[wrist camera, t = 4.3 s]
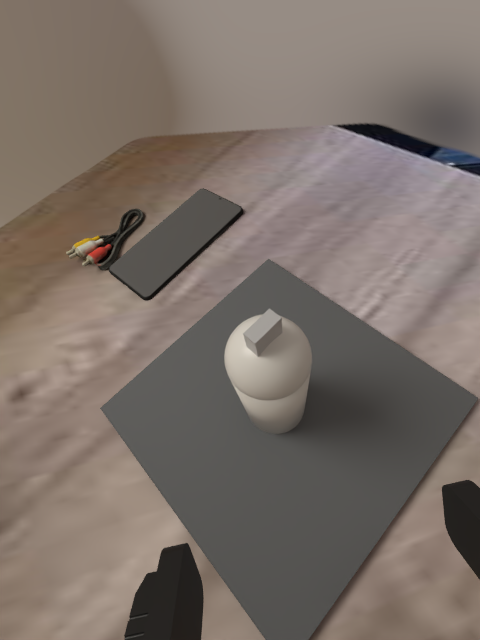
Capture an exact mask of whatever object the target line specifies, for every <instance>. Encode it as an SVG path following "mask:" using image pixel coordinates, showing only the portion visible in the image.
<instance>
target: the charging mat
mask: <svg viewBox="0 0 480 640" xmlns="http://www.w3.org/2000/svg"><path fill="white" fill-rule="evenodd" d="M269 308H270V309H271V310H272V311H274V312H275V313H276V314H277V315H279V316H282V317H284V318H287V319H289V320H290V321H292V322H294V323H295V324H296V325H297V326H298V327H299V328H300V329H301V330H302V331H303V332H304V334H305V335H306V337H307V339H308V341H309V344H310V347H311V352H312V365H311V372H310V378H309V385H308V391H307V397H306V404H305V410H304V414H303V417H302V419H301V421H300V422H299V423H298V425H297V426H296V427H295V428H293V429H292V430H290V431H288V432H286V433H282V434H270V433H267V432H264V431H262V430H260V429H259V428H257V427H256V426H255V425H254V424H253V422H252V421H251V420H250V418H249V416H248V414H247V412H246V410H245V408H244V406H243V404H242V402H241V400H240V398H239V396H238V394H237V392H236V390H235V388H234V386H233V384H232V382H231V380H230V378H229V376H228V374H227V371H226V368H225V361H224V354H225V348H226V344H227V342H228V339H229V337H230V335H231V334H232V332H233V331H234V330H235V329H236V328H237V326H238V325H240V324H241V323H242V322H244V321H245V320H247V319H249V318H251V317H254V316H257V315H262V314H264V313H265V312H266V311H267V310H268V309H269ZM477 400H478V398H477V397H476V396H474V395H473V394H471V393H470V392H468V391H467V390H465V389H464V388H462V387H461V386H459V385H458V384H456V383H455V382H453V381H452V380H450V379H449V378H447V377H446V376H444V375H443V374H441V373H440V372H438V371H437V370H435V369H434V368H432V367H431V366H429V365H428V364H426V363H425V362H423V361H422V360H420V359H419V358H417V357H416V356H414V355H413V354H411V353H410V352H408V351H407V350H405V349H404V348H402V347H401V346H399V345H398V344H396V343H395V342H393V341H392V340H390V339H388V338H387V337H385V336H384V335H382V334H381V333H379V332H378V331H376V330H375V329H373V328H372V327H370V326H369V325H367V324H366V323H364V322H363V321H361V320H360V319H358V318H357V317H355V316H354V315H352V314H351V313H349V312H348V311H346V310H345V309H343V308H342V307H340V306H339V305H337V304H336V303H334V302H333V301H331V300H330V299H328V298H327V297H325V296H324V295H322V294H321V293H319V292H318V291H316V290H315V289H313V288H312V287H310V286H309V285H307V284H306V283H304V282H303V281H301V280H300V279H298V278H297V277H295V276H294V275H292V274H291V273H289V272H288V271H286V270H285V269H283V268H282V267H280V266H279V265H277V264H275V263H274V262H272V261H271V260H269V259H268V260H267V261H266V262H265V263H263V264H262V265H261V266H260V267H259V268H258V269H257V270H256V271H254V272H253V273H252V274H251V275H250V276H249V277H248V278H246V279H245V280H244V281H243V282H242V283H241V284H240V285H239V286H237V287H236V288H235V289H234V290H233V291H232V292H231V293H230V294H228V295H227V296H226V297H225V298H224V299H223V300H222V301H221V302H219V303H218V304H217V305H216V306H215V307H214V308H213V309H212V310H210V311H209V312H208V313H207V314H206V315H205V316H204V317H203V318H201V319H200V320H199V321H198V322H197V323H196V324H195V325H194V326H192V327H191V328H190V329H189V330H188V331H187V332H186V333H184V334H183V335H182V336H181V337H180V338H179V339H178V340H177V341H175V342H174V343H173V344H172V345H171V346H170V347H169V348H168V349H166V350H165V351H164V352H163V353H162V354H161V355H160V356H159V357H157V358H156V359H155V360H154V361H153V362H152V363H151V364H150V365H148V366H147V367H146V368H145V369H144V370H143V371H142V372H141V373H139V374H138V375H137V376H136V377H135V378H134V379H133V380H131V381H130V382H129V383H128V384H127V385H126V386H125V387H124V388H122V389H121V390H120V391H119V392H118V393H117V394H116V395H115V396H113V397H112V398H111V399H110V400H109V401H108V402H107V403H106V404H104V405H103V406H102V407H101V410H102V411H103V413H104V414H105V415H106V417H107V418H108V420H109V421H110V422H111V424H112V425H113V427H114V428H115V429H116V431H117V432H118V434H119V435H120V436H121V438H122V439H123V441H124V442H125V443H126V445H127V446H128V448H129V449H130V450H131V452H132V453H133V455H134V456H135V457H136V459H137V460H138V462H139V463H140V464H141V466H142V467H143V469H144V470H145V471H146V473H147V474H148V476H149V477H150V478H151V480H152V481H153V483H154V484H155V485H156V487H157V488H158V490H159V491H160V492H161V494H162V495H163V497H164V498H165V499H166V501H167V502H168V504H169V505H170V506H171V508H172V509H173V511H174V512H175V513H176V515H177V516H178V518H179V519H180V520H181V522H182V523H183V525H184V526H185V527H186V529H187V530H188V532H189V533H190V534H191V536H192V537H193V539H194V540H195V541H196V543H197V544H198V546H199V547H200V548H201V550H202V551H203V553H204V554H205V555H206V557H207V558H208V560H209V561H210V562H211V564H212V565H213V567H214V568H215V569H216V571H217V572H218V574H219V575H220V576H221V578H222V579H223V581H224V582H225V583H226V585H227V586H228V588H229V589H230V590H231V592H232V593H233V595H234V596H235V597H236V599H237V600H238V602H239V603H240V604H241V606H242V607H243V609H244V610H245V611H246V613H247V614H248V616H249V617H250V618H251V620H252V621H253V622H254V624H255V625H256V627H257V628H258V629H259V631H260V632H261V634H262V635H263V636H264V638H265V639H266V640H308V639H309V638H310V637H311V635H312V634H313V632H314V631H315V630H316V628H317V627H318V625H319V624H320V622H321V621H322V620H323V618H324V617H325V615H326V614H327V613H328V611H329V610H330V608H331V607H332V605H333V604H334V603H335V601H336V600H337V598H338V597H339V595H340V594H341V593H342V591H343V590H344V588H345V587H346V586H347V584H348V583H349V581H350V580H351V578H352V577H353V576H354V574H355V573H356V571H357V570H358V568H359V567H360V566H361V564H362V563H363V561H364V560H365V559H366V557H367V556H368V554H369V553H370V551H371V550H372V549H373V547H374V546H375V544H376V543H377V542H378V540H379V539H380V537H381V536H382V534H383V533H384V532H385V530H386V529H387V527H388V526H389V524H390V523H391V522H392V520H393V519H394V517H395V516H396V515H397V513H398V512H399V510H400V509H401V507H402V506H403V505H404V503H405V502H406V500H407V499H408V498H409V496H410V495H411V493H412V492H413V490H414V489H415V488H416V486H417V485H418V483H419V482H420V480H421V479H422V478H423V476H424V475H425V473H426V472H427V471H428V469H429V468H430V466H431V465H432V463H433V462H434V461H435V459H436V458H437V456H438V455H439V454H440V452H441V451H442V449H443V448H444V446H445V445H446V444H447V442H448V441H449V439H450V438H451V436H452V435H453V434H454V432H455V431H456V429H457V428H458V427H459V425H460V424H461V422H462V421H463V419H464V418H465V417H466V415H467V414H468V412H469V411H470V409H471V408H472V407H473V405H474V404H475V402H476V401H477Z"/></svg>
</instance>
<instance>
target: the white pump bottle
mask: <svg viewBox="0 0 480 640" xmlns="http://www.w3.org/2000/svg"><path fill="white" fill-rule="evenodd" d="M224 361H225V368H226V371H227V374H228V376H229V378H230V380H231V382H232V384H233V386H234V388H235V390H236V392H237V394H238V396H239V398H240V400H241V402H242V404H243V406H244V408H245V410H246V412H247V414H248V416H249V418H250V420H251V421H252V422H253V424H254V425H255V426H256V427H257V428H259V429H260V430H262V431H264V432H267V433H270V434H282V433H286V432H288V431H290V430H292V429H293V428H295V427H296V426H297V425H298V423H299V422H300V421H301V419H302V417H303V414H304V410H305V404H306V397H307V391H308V385H309V378H310V372H311V365H312V352H311V347H310V344H309V341H308V339H307V337H306V335H305V334H304V332H303V331H302V330H301V329H300V328H299V327H298V326H297V325H296V324H295V323H294V322H292V321H290V320H289V319H287V318H284V317H282V316H279V315H277V314H276V313H275V312H274V311H272V310H271V309H270V308H269V309H268V310H267V311H266V312H265V313H264V314H262V315H257V316H254V317H251V318H249V319H247V320H245V321H244V322H242V323H241V324H240V325H238V326H237V328H236V329H235V330H234V331H233V332H232V334H231V335H230V337H229V339H228V342H227V344H226V348H225V354H224Z"/></svg>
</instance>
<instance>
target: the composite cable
mask: <svg viewBox="0 0 480 640" xmlns="http://www.w3.org/2000/svg"><path fill="white" fill-rule="evenodd" d="M136 215H138V219H137V220H136V221H135V222H134V223H133V224H132V225H131V226H129V227H128V228H127V226H128V223H129V221H130V219H131V218H132V217H133V216H136ZM142 220H143V213H142V211H141V210H139V209H132V210H129V211H128V212H126V213H125V214H124V215H123V216H122V218H121V222H120V226H119V229H118V230H117V232H115V233H113V234H111V235H104V236H100V237H99V236H96V237H94V238H86V239H84V240H82V241H80V242H78V243H76V244H74V245H73V249H72V250H70V251H68V252H66V253H67V255H70V256H69V258H70V259H72V258H74V257H76V256H79V257H82V256H83V257H84V256H86V255H87V257H86V259H84V260H83V261H84V263H82V265H83V266H86V265H87V264H89V263H90V264H94V263H95V264H96V265H97V266H98V267H99V268H100V269H101V270H106V269H108V268H109V267H110V266H111V265H112V264H113V263H114V262H115V260H116V258H117V255H118V252H119V249H120V247H121V245H122V243H123V241H124V240H125V239H126V238H127V237H128V236H129V235H130V234H131V233H132V232H133V231H134V230H135V229H136V228H137V227H138V226H139V225H140V224H141V222H142ZM126 228H127V229H126ZM102 238H104V239H102ZM112 249H113V250H112ZM111 250H112V253H111V255H110V257H108V259H107V260H106V261H104V262H103V263H102V260H103V259H104V258H105V256H106V255H107V254H108V253H109V252H110V251H111Z"/></svg>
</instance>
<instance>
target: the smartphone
mask: <svg viewBox="0 0 480 640" xmlns="http://www.w3.org/2000/svg"><path fill="white" fill-rule="evenodd" d="M242 214H243V209H242V208H241V207H240V206H239V205H237V204H234V203H232V202H230V201H228V200H226V199H224V198H222V197H220V196H218V195H216V194H214V193H212V192H210V191H208V190H206V189H200V190H198V191H197V192H196V193H195V194H194V195H193V196H191V197H190V198H189V199H188V200H187V201H186V202H184V203H183V204H182V205H181V206H180V207H179V208H177V209H176V210H175V211H174V212H173V213H172V214H170V215H169V216H168V217H167V218H166V219H165V220H163V221H162V222H161V223H160V224H159V225H158V226H156V227H155V228H154V229H153V230H152V231H151V232H149V233H148V234H147V235H146V236H145V237H144V238H143V239H141V240H140V241H139V242H138V243H137V244H136V245H134V246H133V247H132V248H131V249H130V250H129V251H127V252H126V253H125V254H124V255H123V256H122V257H120V258H119V259H118V260H117V261H116V262H115V263H113V264H112V265H111V266H110V267H109V272H110V273H111V274H112V275H113V276H114V277H116V278H117V279H118V280H119V281H121V282H122V283H123V284H124V285H126V286H128V288H129V289H131V290H132V291H134V292H135V293H136V294H137V295H138V296H140V297H141V298H142V299H143V300H150V299H152V298H153V297H154V296H155V295H156V294H157V293H158V292H159V291H160V290H161V289H162V288H163V287H165V286H166V285H167V284H168V283H169V282H170V281H171V280H172V279H173V278H174V277H175V276H176V275H177V274H179V273H180V272H181V271H182V270H183V269H184V268H185V267H186V266H187V265H188V264H189V263H190V262H191V261H193V260H194V259H195V258H196V257H197V256H198V255H199V254H200V253H201V252H202V251H203V250H204V249H205V248H207V247H208V246H209V245H210V244H211V243H212V242H213V241H214V240H215V239H216V238H218V237H219V236H220V235H221V234H222V233H223V232H224V231H225V230H226V229H227V228H228V227H229V226H230V225H231V224H233V223H234V222H235V221H236V220H237V219H238V218H239V217H240V216H241V215H242Z"/></svg>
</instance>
